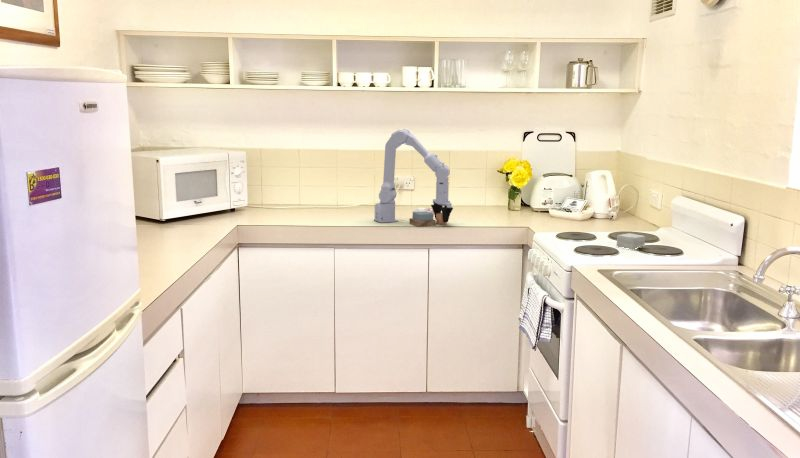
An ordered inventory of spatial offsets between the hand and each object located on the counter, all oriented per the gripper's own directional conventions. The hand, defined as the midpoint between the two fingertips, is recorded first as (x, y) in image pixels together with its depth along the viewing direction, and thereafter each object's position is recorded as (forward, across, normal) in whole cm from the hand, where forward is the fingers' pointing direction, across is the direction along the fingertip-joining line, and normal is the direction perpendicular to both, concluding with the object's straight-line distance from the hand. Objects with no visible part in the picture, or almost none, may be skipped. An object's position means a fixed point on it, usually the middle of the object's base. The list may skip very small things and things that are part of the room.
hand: (441, 220), depth 316 cm
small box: (+2, -74, -45) cm, 87 cm away
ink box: (-1, +19, -1) cm, 19 cm away
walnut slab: (+2, +2, +9) cm, 9 cm away
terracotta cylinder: (+2, 0, 0) cm, 2 cm away
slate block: (-1, +2, +9) cm, 9 cm away
